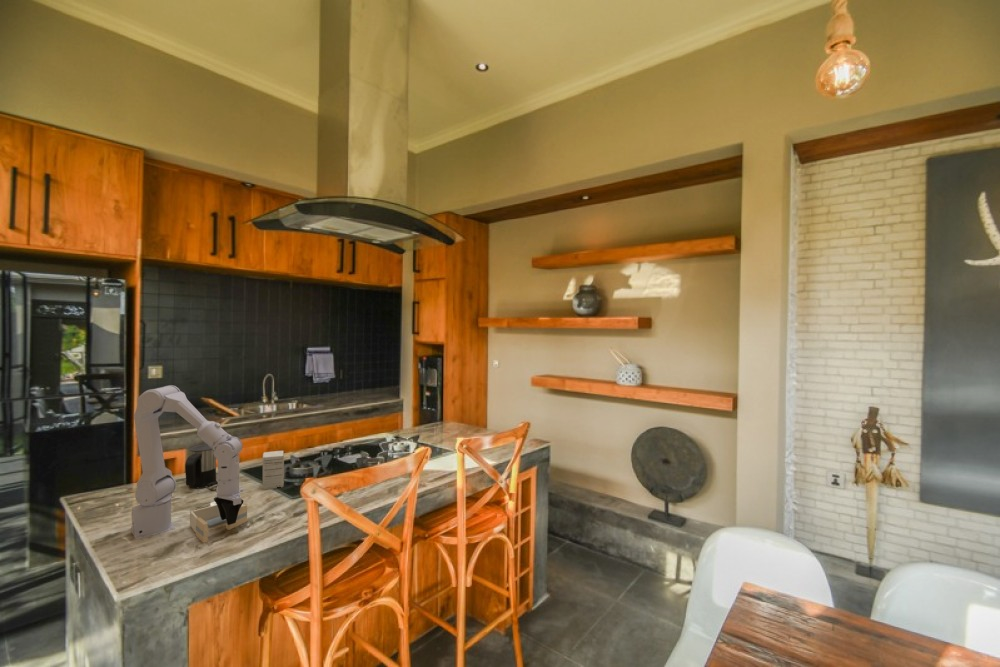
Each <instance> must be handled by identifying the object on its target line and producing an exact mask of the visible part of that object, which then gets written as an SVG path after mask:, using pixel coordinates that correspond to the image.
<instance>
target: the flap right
mask: <svg viewBox="0 0 1000 667" xmlns="http://www.w3.org/2000/svg"><path fill="white" fill-rule="evenodd" d="M247 522H248V504H247V503H246V504H243V505H242V506H241V507H240V509H239V512H238V516H237V520H236V523H234V524H230V525H228V524H227V521H226V526H225V528H226V529H225V530H226V531H227V530H228V531H230V530H232V529H233V528H234V529H235V528H236V527H238V526H240V525H243V524H245V523H247Z"/></svg>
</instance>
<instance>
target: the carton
mask: <svg viewBox="0 0 1000 667" xmlns="http://www.w3.org/2000/svg"><path fill="white" fill-rule="evenodd" d="M242 505H244V503H243V504H242ZM197 517H201V518H202V519H203V520H204V521H207V520H210V519H213V518H217V517H220V513H219V509H218V506H217V504H214V505H209V506H205V507H203V508H198V509H195V510H191V511H189V521H190V523H189V526H190V527H191V529H192V530H193V531H194V532H195V533H196V518H197ZM222 527H226V523H224V524H221V525H218V526H215V527H212V528H210V527H208V531H213V530H216V529H219V528H222Z"/></svg>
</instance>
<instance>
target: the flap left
mask: <svg viewBox="0 0 1000 667" xmlns="http://www.w3.org/2000/svg"><path fill="white" fill-rule="evenodd" d="M195 534H196V537H197V538H198V539H199V540H200V541H201V542H202V543H203V544H205V543H208V541H209V538H208V535H209V532H208V523H206V522H205V521H204V520H203V519H202V518H201V517H197V518H196V532H195Z"/></svg>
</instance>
